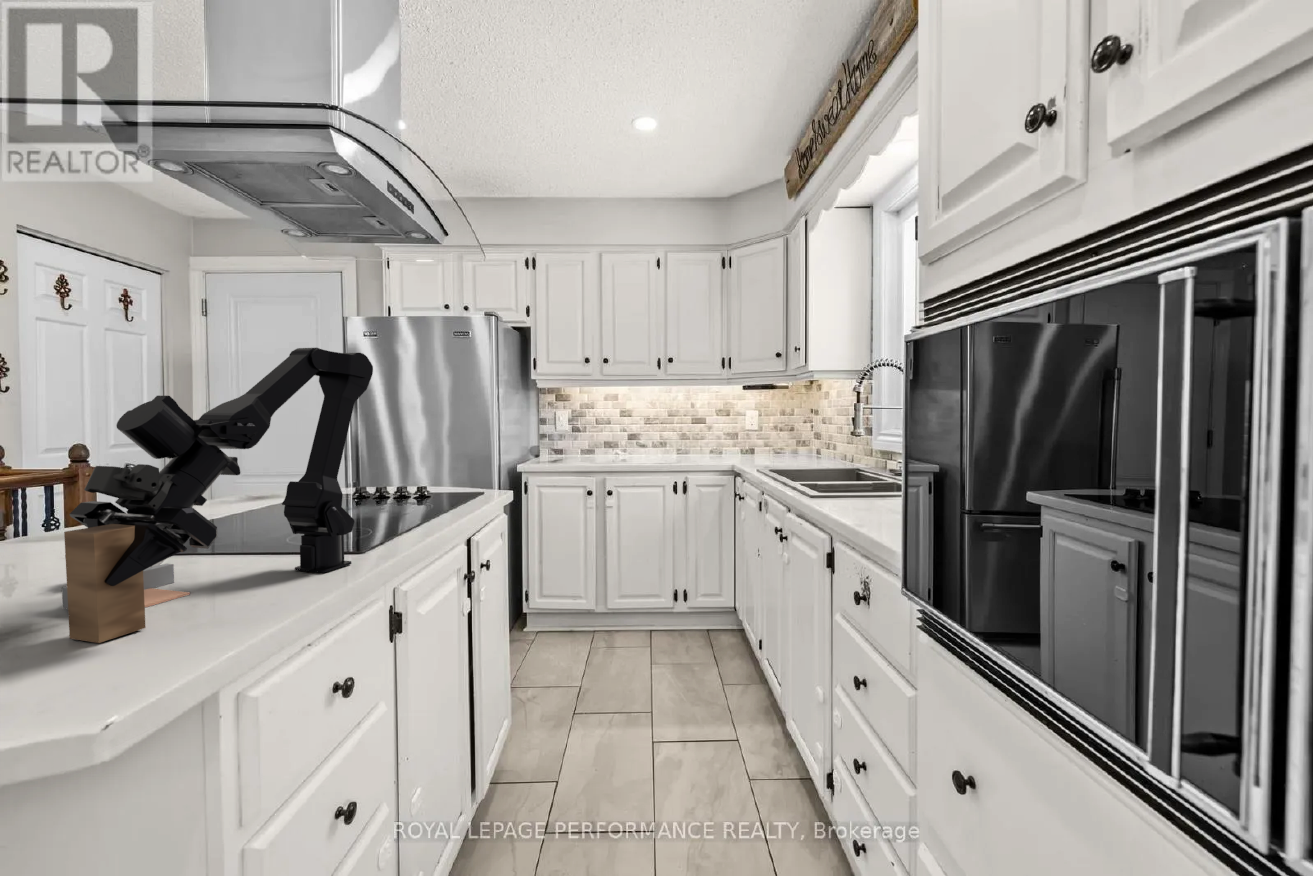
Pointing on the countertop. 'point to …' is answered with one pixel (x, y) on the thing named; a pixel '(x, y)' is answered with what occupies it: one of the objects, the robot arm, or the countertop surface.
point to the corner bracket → (150, 578)
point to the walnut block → (101, 584)
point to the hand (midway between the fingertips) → (92, 582)
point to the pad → (160, 596)
